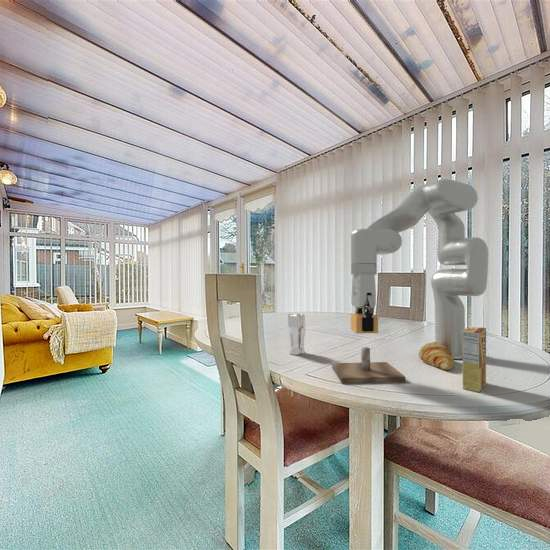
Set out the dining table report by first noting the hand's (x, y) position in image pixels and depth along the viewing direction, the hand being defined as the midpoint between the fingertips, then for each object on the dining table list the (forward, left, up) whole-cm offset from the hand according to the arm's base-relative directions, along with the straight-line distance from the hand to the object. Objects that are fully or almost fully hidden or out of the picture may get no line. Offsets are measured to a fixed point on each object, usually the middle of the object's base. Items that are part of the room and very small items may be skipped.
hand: (364, 328), depth 91 cm
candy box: (-26, +11, -14) cm, 32 cm away
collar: (0, 0, -1) cm, 1 cm away
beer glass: (+19, -26, -14) cm, 35 cm away
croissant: (-27, -11, -14) cm, 33 cm away
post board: (0, 0, -14) cm, 14 cm away
